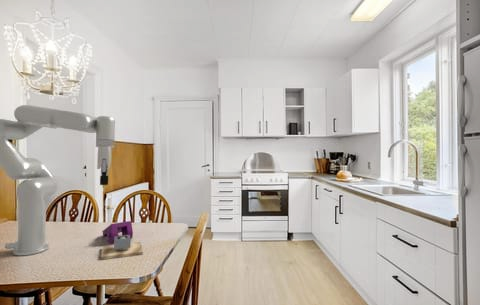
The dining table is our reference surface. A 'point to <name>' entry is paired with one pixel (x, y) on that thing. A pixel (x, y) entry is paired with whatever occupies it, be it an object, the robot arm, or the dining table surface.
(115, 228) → the mounting bracket
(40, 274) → the dining table surface
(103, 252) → the hub board
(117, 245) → the collar
